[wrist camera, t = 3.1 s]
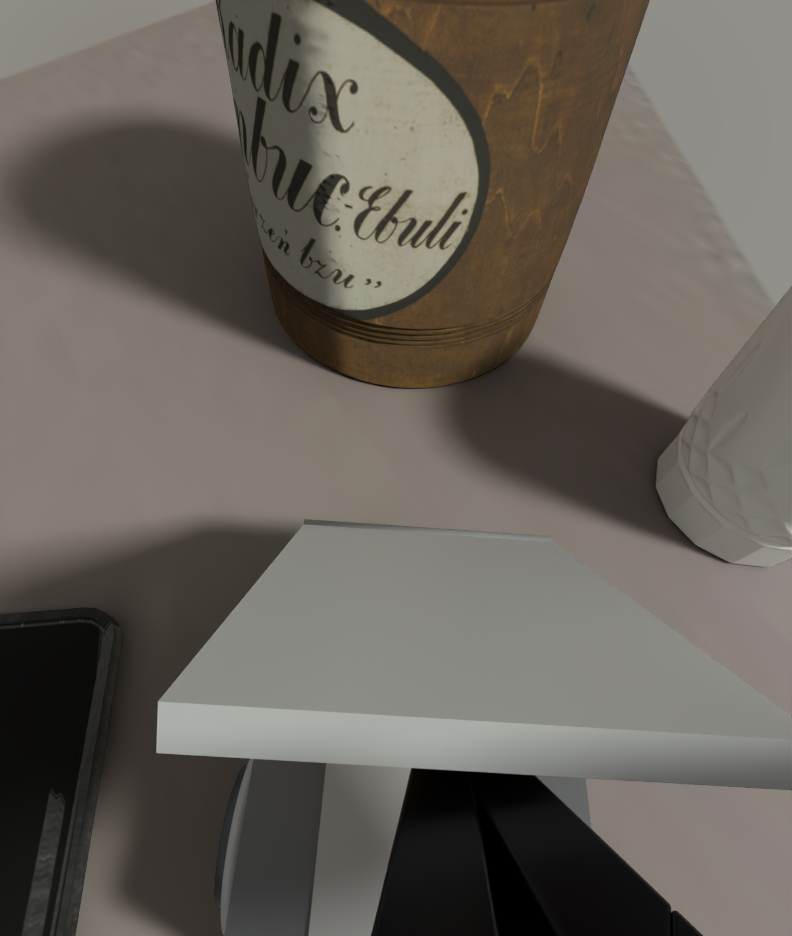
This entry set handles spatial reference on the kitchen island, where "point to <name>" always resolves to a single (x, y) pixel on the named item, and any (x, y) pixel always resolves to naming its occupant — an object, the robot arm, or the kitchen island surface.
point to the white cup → (739, 454)
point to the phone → (51, 760)
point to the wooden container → (419, 167)
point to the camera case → (317, 845)
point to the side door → (465, 668)
